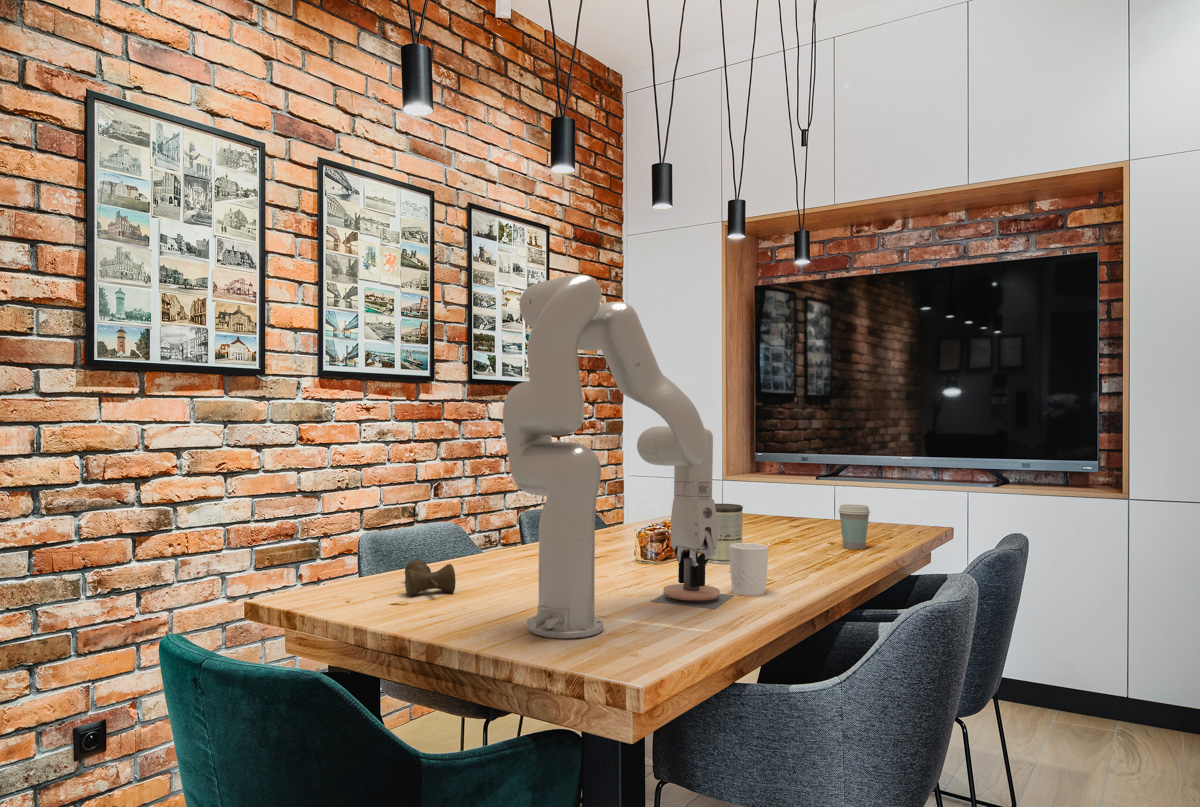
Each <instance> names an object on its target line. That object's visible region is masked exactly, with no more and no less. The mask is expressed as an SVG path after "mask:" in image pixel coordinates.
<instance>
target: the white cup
mask: <svg viewBox="0 0 1200 807" xmlns="http://www.w3.org/2000/svg"><path fill="white" fill-rule="evenodd" d="M729 552H730V564H729V570H730V581H731V592H732V593H733V594H734V595H735V594H736V595H740V596H752V597H753V596H762V595H765V594H766V593H767V592H766V590H767V589H766V587H767V580H768V578H767V576H768V565H769V564H768V563H769V546H768V545H766V544H761V543H755V542H754V543H750V542H742V543H735V544H730V545H729Z"/></svg>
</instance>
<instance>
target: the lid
mask: <svg viewBox="0 0 1200 807" xmlns="http://www.w3.org/2000/svg"><path fill="white" fill-rule="evenodd" d="M691 566H693V562H692V557H687V558H684V582H683V583H677V584H670V585H665V586H664V587H663V592H662V595H663V594H664V595H665V596H667V597H670V598H675V599H681V600H712V599H716V598H719V597H720V594H721V593H720V592H721V591H720V589H719V588H717V587H715V586H711V585H706V584H705V585H704V586H699V587H691V586H690V567H691Z"/></svg>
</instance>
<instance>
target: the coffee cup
mask: <svg viewBox="0 0 1200 807" xmlns="http://www.w3.org/2000/svg"><path fill="white" fill-rule="evenodd" d="M870 511H871V510H870V509H869V506H868V505H863V504H840V506H839V509H838V513H839V520H840V528H841V536H842V546H843V548H844V549H845V548H846V550H851V549H855V550H856V551H858V550H857V549H863V550H865V549H866V544H867V536H868V535H867V534H868V527H869V526H868V525H869V517H870V514H871V512H870Z"/></svg>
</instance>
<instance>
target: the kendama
mask: <svg viewBox="0 0 1200 807" xmlns="http://www.w3.org/2000/svg"><path fill="white" fill-rule="evenodd" d="M404 575H405V576H404V585H405V586H404V587H405V592H406V595H407V596H408V597H409V598H412V597H414V596H416V595H418V594H420V593H421V592H423V591H427V590H432V589H433V590H434V589H435V590H436V589H437V590H441V591H443V592H446V593H450V594H454V592H455V590H456V582H457V581H456V572H455V569H454V566H453V564H452V563H447V564H446V565H445V566H443V567H441V568H440V569H438V570H437V571H432V570H431V568H430V567H429V565H428V564H426V562H424V561H423V560H420V559H419V560H418V559H417V560H416V559H415V560H412V561H410V562H409V563H407V565H406V566H405V568H404Z"/></svg>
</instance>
